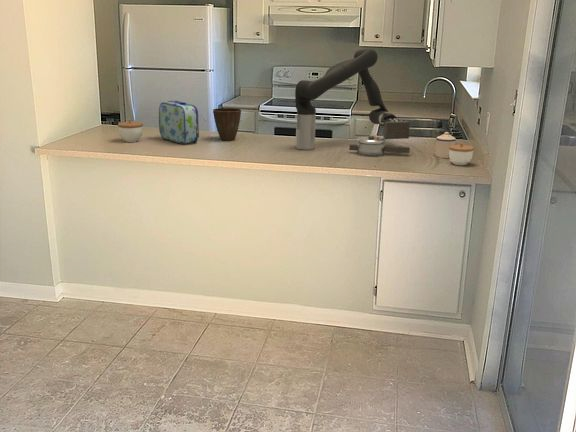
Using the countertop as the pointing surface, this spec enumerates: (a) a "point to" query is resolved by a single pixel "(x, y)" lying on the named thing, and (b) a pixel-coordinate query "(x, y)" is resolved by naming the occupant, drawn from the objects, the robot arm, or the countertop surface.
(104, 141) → the countertop surface
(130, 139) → the lidded bowl
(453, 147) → the lidded jar
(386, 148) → the pot
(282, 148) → the countertop surface
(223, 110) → the plant pot
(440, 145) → the beige canister
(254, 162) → the countertop surface
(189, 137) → the lunch box
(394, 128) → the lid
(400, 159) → the countertop surface
